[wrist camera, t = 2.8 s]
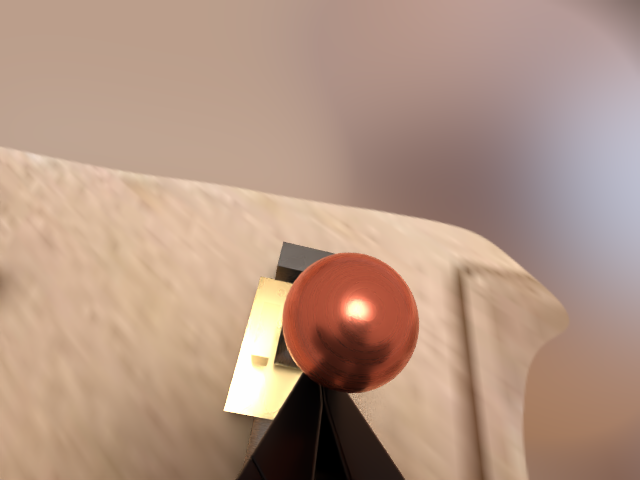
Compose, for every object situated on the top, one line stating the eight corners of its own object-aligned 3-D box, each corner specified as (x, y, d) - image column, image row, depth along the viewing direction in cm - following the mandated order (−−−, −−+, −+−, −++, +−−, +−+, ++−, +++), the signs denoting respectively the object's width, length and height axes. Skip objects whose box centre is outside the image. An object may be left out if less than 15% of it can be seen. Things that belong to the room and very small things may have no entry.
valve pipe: (281, 739, 13) (301, 979, 8) (144, 724, 13) (59, 967, 7) (344, 281, 23) (372, 240, 18) (267, 264, 23) (272, 217, 17)
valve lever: (316, 374, 17) (442, 417, 5) (266, 364, 17) (267, 382, 5) (325, 323, 18) (449, 252, 6) (278, 313, 18) (305, 217, 5)
